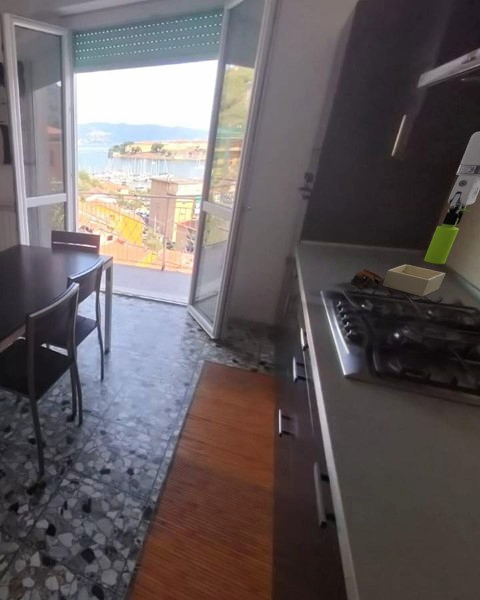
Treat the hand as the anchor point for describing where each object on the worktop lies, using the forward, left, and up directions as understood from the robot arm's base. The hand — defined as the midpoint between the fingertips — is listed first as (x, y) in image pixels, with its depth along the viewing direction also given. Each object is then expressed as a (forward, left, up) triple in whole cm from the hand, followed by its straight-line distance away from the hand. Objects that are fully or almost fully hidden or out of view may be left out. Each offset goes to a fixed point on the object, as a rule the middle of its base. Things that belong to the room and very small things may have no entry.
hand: (450, 223), depth 129 cm
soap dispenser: (0, 0, -15) cm, 15 cm away
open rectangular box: (+6, -8, -29) cm, 31 cm away
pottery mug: (+16, +8, -29) cm, 34 cm away
